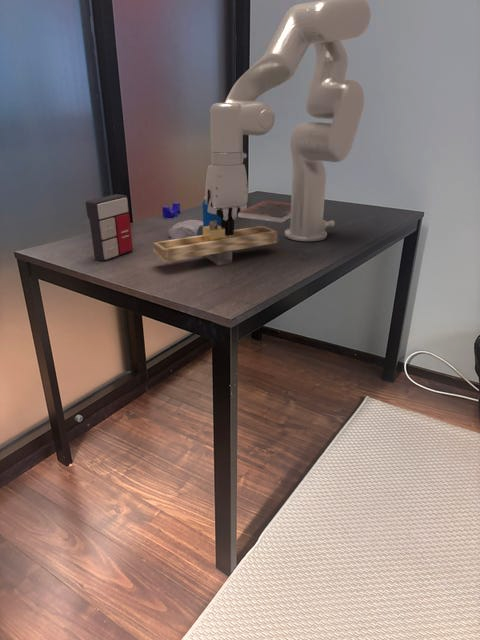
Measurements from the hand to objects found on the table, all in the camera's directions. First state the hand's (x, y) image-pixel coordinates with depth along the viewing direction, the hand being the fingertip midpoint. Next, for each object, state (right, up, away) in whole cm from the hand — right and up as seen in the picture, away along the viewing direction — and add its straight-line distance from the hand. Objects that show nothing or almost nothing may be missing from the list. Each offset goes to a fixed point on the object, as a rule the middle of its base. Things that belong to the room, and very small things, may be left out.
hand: (227, 234), depth 123 cm
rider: (-3, -2, -1) cm, 4 cm away
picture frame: (+15, +15, +48) cm, 53 cm away
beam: (-3, -6, +1) cm, 7 cm away
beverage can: (-4, +2, +18) cm, 19 cm away
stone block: (-13, +4, +23) cm, 27 cm away
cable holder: (-20, +14, +44) cm, 50 cm away
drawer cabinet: (-30, -5, +5) cm, 31 cm away
